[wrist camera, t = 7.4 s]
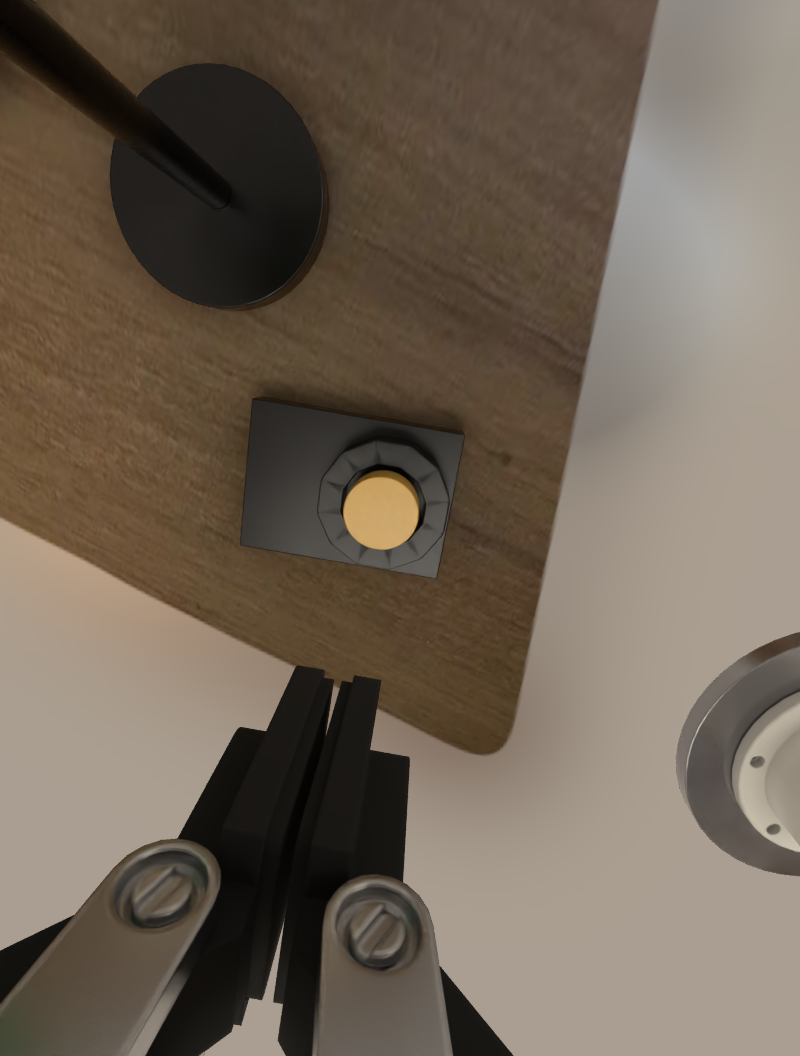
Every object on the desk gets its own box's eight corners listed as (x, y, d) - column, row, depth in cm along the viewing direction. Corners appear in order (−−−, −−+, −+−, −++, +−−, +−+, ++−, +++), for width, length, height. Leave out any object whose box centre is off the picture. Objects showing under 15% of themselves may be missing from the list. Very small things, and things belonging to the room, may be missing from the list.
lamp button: (424, 476, 27) (424, 483, 26) (412, 544, 28) (411, 555, 27) (353, 464, 27) (348, 470, 26) (343, 532, 28) (338, 543, 27)
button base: (463, 431, 30) (468, 439, 26) (436, 568, 32) (437, 592, 29) (261, 396, 30) (240, 400, 26) (249, 536, 32) (228, 556, 28)
